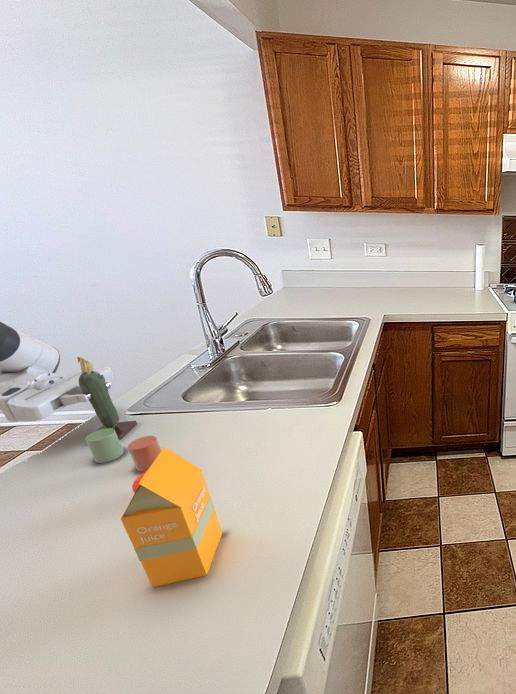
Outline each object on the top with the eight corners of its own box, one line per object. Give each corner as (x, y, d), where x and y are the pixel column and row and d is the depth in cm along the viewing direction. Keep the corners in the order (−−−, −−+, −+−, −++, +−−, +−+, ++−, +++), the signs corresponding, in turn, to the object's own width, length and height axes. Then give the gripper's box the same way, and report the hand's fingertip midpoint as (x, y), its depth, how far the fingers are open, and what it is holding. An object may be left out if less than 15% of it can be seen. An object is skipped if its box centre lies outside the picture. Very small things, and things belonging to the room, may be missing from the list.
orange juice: (151, 588, 62) (104, 489, 54) (174, 542, 70) (136, 450, 62) (208, 575, 64) (170, 478, 56) (224, 532, 72) (193, 441, 64)
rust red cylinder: (131, 473, 86) (122, 450, 84) (144, 458, 91) (136, 436, 88) (157, 470, 87) (148, 448, 85) (169, 455, 92) (161, 434, 89)
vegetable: (125, 428, 100) (97, 356, 92) (104, 436, 97) (72, 363, 89) (118, 422, 102) (90, 352, 94) (97, 430, 99) (65, 358, 91)
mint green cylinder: (89, 464, 89) (79, 442, 87) (104, 450, 93) (95, 429, 91) (115, 461, 90) (105, 439, 87) (128, 448, 94) (119, 426, 92)
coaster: (87, 443, 96) (85, 439, 96) (106, 426, 102) (105, 423, 102) (120, 439, 97) (118, 436, 97) (137, 423, 104) (135, 420, 103)
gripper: (86, 382, 106) (138, 382, 106) (1, 426, 87) (63, 426, 87) (77, 360, 103) (130, 361, 103) (-13, 401, 85) (51, 402, 85)
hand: (99, 391), depth 95 cm, fingers closed on vegetable, 4 cm apart
